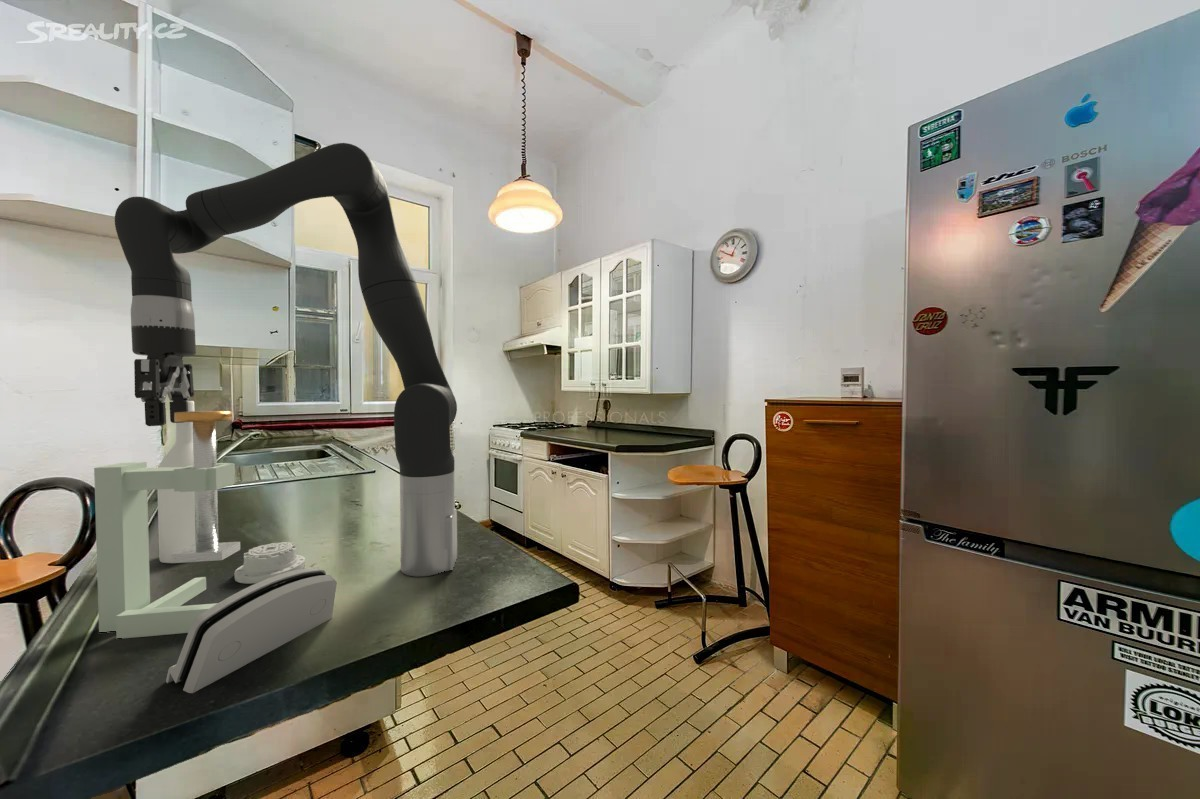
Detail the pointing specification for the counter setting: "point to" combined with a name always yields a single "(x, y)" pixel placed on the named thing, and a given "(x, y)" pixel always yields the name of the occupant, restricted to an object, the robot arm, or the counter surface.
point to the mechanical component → (269, 562)
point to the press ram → (205, 500)
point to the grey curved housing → (253, 625)
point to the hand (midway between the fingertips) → (168, 424)
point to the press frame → (142, 548)
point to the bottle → (177, 498)
